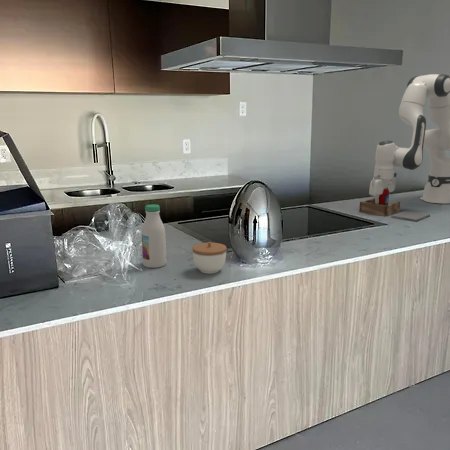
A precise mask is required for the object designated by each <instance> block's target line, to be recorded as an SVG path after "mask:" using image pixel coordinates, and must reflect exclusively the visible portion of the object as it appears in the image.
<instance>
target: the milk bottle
mask: <svg viewBox="0 0 450 450" xmlns="http://www.w3.org/2000/svg"><path fill="white" fill-rule="evenodd" d="M160 207H161V206H160V205H159V204H146V205H145V206H144V210H145V219H144V221H143V225H142V228H141V251H142V252H141V253H142V264H143V266H144V267H146V268H148V269H155V268H156V269H158V268H162V267H165V266H166V265H167V240H166V237H167V236H166V229H165V225H164V223H163V221H162V219H161V215H160V211H161V210H160V209H161V208H160Z"/></svg>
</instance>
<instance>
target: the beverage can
mask: <svg viewBox="0 0 450 450" xmlns="http://www.w3.org/2000/svg"><path fill="white" fill-rule="evenodd" d="M389 199H390V192H389V190H388V188H386V189H384V190H383V194H381V195H379V200H380V203H379V204H380V205H389V201H390V200H389ZM374 204H375V199H374Z"/></svg>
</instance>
